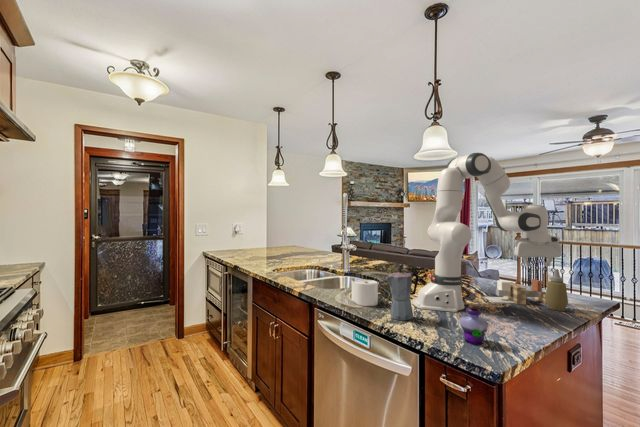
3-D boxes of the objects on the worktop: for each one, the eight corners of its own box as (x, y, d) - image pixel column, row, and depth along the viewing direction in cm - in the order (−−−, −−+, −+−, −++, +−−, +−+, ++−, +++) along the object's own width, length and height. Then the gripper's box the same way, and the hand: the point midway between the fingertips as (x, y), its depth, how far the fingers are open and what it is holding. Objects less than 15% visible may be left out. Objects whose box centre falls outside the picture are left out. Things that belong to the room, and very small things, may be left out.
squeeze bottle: (572, 312, 129) (572, 271, 129) (551, 311, 131) (551, 270, 131) (561, 307, 137) (561, 268, 137) (541, 306, 139) (541, 267, 139)
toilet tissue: (379, 306, 135) (379, 284, 135) (352, 306, 136) (353, 284, 136) (375, 300, 146) (375, 279, 146) (351, 299, 146) (351, 279, 147)
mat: (494, 303, 143) (494, 302, 143) (484, 297, 153) (484, 296, 153) (515, 303, 142) (515, 302, 142) (504, 297, 152) (504, 297, 152)
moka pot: (379, 315, 123) (380, 267, 123) (409, 311, 129) (409, 265, 129) (394, 323, 114) (394, 271, 115) (425, 318, 121) (425, 268, 121)
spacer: (501, 290, 145) (501, 282, 145) (497, 288, 150) (497, 280, 150) (510, 290, 145) (510, 282, 145) (505, 288, 149) (505, 280, 149)
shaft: (499, 296, 145) (499, 280, 145) (495, 294, 150) (495, 278, 150) (543, 297, 144) (543, 281, 144) (537, 295, 148) (537, 279, 148)
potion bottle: (470, 348, 93) (470, 309, 93) (453, 337, 102) (454, 302, 102) (495, 346, 95) (495, 308, 95) (476, 335, 103) (476, 301, 103)
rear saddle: (545, 304, 142) (545, 295, 142) (534, 299, 150) (534, 291, 150) (554, 304, 142) (554, 295, 142) (543, 299, 149) (543, 291, 150)
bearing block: (517, 304, 141) (517, 287, 141) (503, 297, 153) (503, 281, 153) (525, 304, 141) (526, 287, 141) (511, 297, 153) (511, 282, 153)
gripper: (518, 238, 144) (518, 267, 144) (563, 238, 142) (563, 267, 142) (511, 237, 150) (511, 264, 150) (554, 237, 149) (554, 265, 148)
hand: (537, 266), depth 146 cm, fingers open, 8 cm apart
